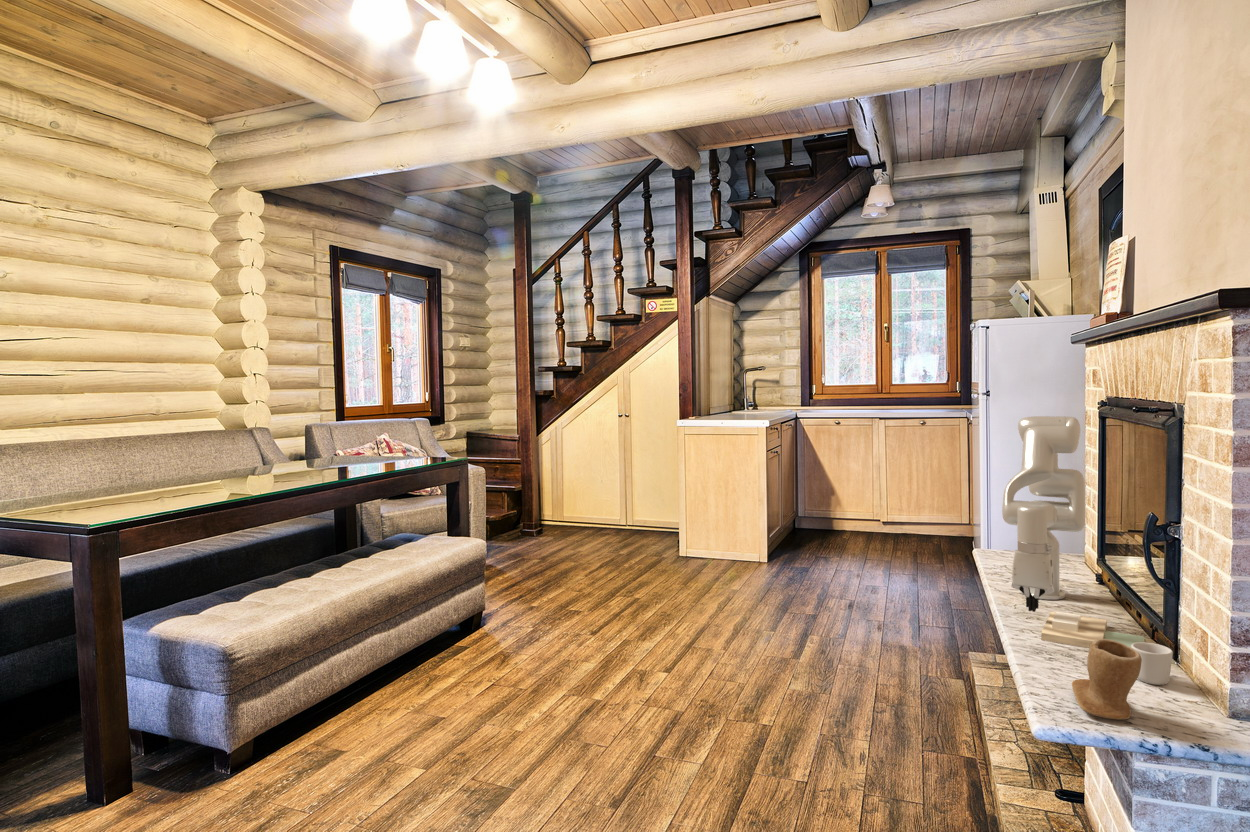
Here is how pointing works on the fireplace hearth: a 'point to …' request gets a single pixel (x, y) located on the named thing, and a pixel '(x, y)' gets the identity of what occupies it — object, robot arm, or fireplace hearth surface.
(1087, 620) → the wavy wooden board
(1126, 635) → the mat
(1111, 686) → the brown hollow flared vessel
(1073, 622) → the cream rectangular block
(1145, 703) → the fireplace hearth surface
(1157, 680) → the cup
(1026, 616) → the fireplace hearth surface
